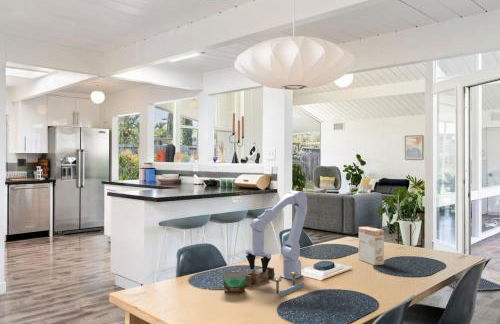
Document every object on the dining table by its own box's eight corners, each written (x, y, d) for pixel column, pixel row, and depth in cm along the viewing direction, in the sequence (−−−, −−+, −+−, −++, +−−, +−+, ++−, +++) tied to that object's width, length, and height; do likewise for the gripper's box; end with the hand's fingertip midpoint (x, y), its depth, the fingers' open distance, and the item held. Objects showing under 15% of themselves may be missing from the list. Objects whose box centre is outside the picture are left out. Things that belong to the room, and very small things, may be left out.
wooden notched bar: (266, 276, 221) (266, 266, 221) (274, 277, 218) (274, 268, 218) (242, 284, 207) (242, 274, 207) (250, 286, 204) (250, 276, 204)
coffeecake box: (384, 264, 243) (384, 229, 242) (374, 265, 240) (374, 230, 240) (368, 258, 257) (367, 225, 256) (358, 259, 254) (357, 226, 254)
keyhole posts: (292, 284, 207) (292, 271, 207) (299, 285, 204) (299, 272, 204) (271, 293, 194) (271, 279, 194) (278, 294, 192) (278, 280, 192)
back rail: (302, 286, 204) (302, 281, 204) (304, 286, 204) (304, 282, 204) (279, 295, 190) (279, 291, 190) (281, 296, 190) (281, 291, 190)
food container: (224, 296, 191) (223, 273, 190) (221, 291, 197) (221, 270, 196) (250, 293, 194) (250, 271, 194) (247, 289, 200) (247, 268, 200)
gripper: (241, 242, 214) (242, 269, 214) (264, 246, 204) (264, 274, 205) (251, 240, 219) (251, 266, 219) (273, 244, 210) (273, 271, 210)
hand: (258, 270), depth 212 cm, fingers open, 7 cm apart
